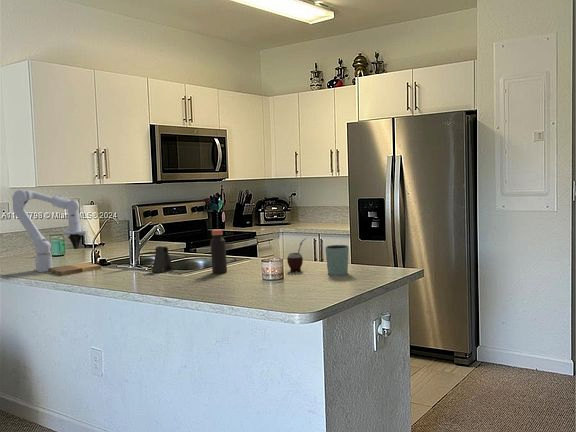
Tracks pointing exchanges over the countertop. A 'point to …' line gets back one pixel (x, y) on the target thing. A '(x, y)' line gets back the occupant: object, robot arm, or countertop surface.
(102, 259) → the countertop surface
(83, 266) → the oak plank
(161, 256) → the door stopper
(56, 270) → the walnut plank
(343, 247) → the grey-green cup
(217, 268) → the bottle
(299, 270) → the mate gourd
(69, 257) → the countertop surface
